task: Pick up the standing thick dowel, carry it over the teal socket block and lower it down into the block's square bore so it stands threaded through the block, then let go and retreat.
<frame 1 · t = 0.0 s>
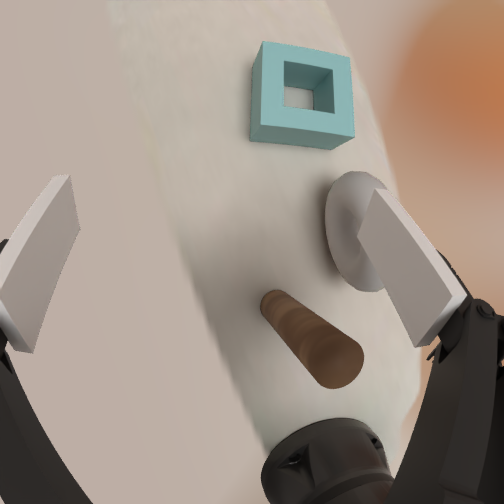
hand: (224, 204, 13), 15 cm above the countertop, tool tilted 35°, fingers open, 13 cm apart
grey rounded flat slab: (335, 231, 31), on the countertop
thick dowel: (276, 305, 30), on the countertop
teal socket block: (292, 106, 29), on the countertop
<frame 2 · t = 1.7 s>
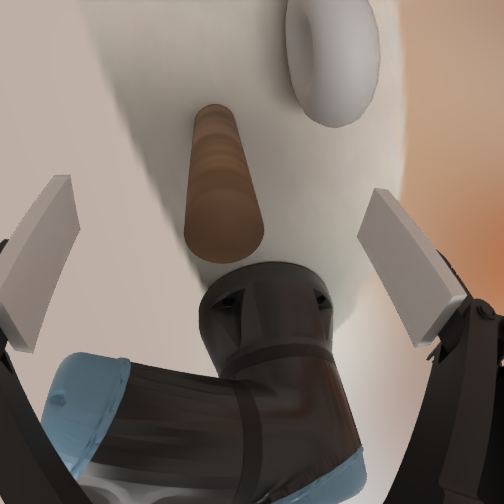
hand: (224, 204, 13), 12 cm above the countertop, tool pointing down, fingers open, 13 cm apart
grey rounded flat slab: (302, 42, 20), on the countertop
thick dowel: (214, 123, 23), on the countertop
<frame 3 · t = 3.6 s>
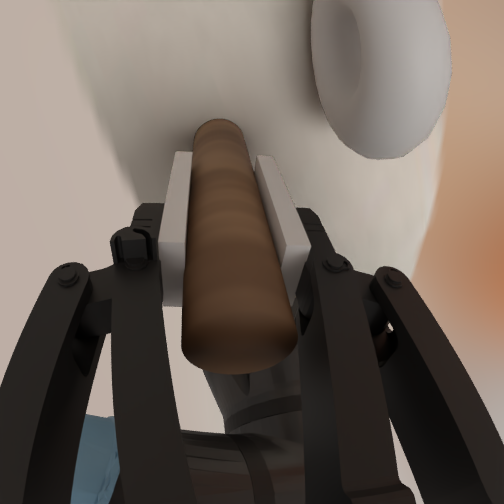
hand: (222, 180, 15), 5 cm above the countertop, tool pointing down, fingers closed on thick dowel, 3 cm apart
grey rounded flat slab: (329, 42, 15), on the countertop
thick dowel: (218, 142, 19), on the countertop, touching gripper
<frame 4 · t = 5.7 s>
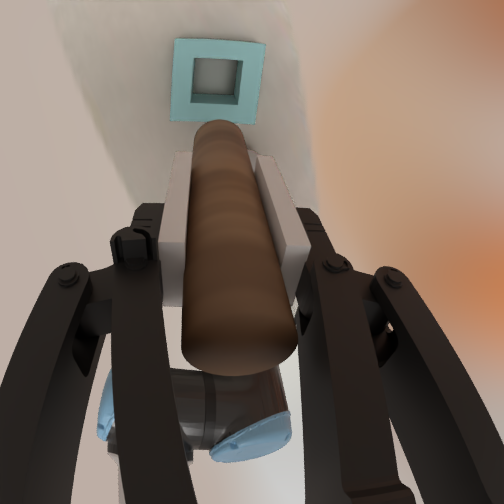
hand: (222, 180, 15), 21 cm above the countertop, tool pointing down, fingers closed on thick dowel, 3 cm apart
thick dowel: (218, 142, 19), point 16 cm above the countertop, touching gripper
teal socket block: (215, 74, 30), on the countertop
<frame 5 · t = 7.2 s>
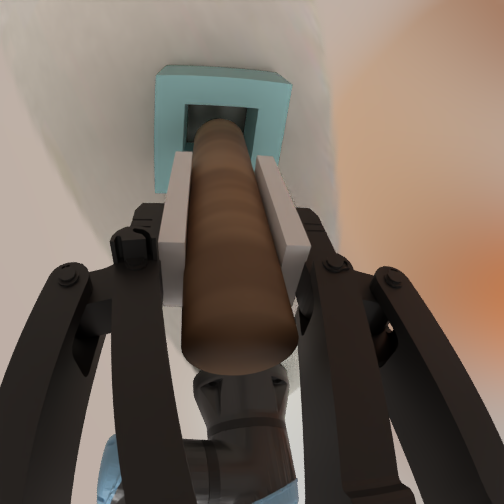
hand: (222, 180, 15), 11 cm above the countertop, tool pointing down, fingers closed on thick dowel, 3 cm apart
thick dowel: (219, 141, 19), point 6 cm above the countertop, touching gripper
teal socket block: (216, 117, 23), on the countertop
when the fingers open (7 cm above the countertop, at t = 8.1 s): thick dowel drops 2 cm, resting in teal socket block.
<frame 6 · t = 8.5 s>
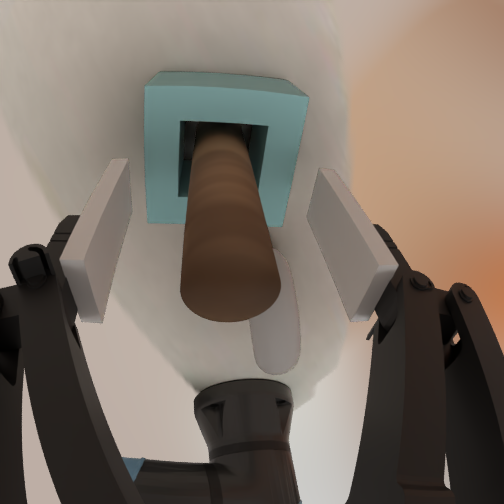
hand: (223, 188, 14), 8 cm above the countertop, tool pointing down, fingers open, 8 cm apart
grey rounded flat slab: (261, 265, 29), on the countertop
thick dowel: (218, 131, 20), resting in teal socket block
teal socket block: (218, 131, 20), on the countertop
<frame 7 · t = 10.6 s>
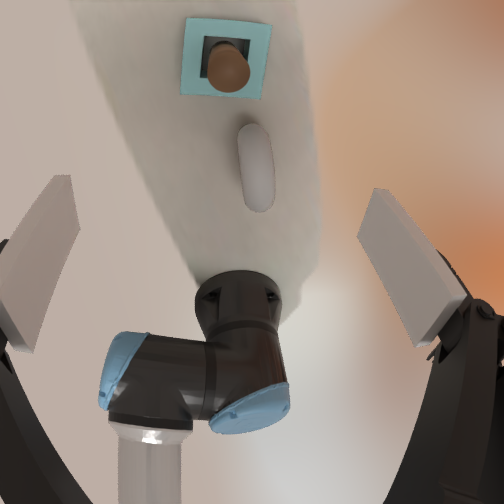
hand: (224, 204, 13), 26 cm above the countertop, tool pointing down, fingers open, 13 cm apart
grey rounded flat slab: (250, 149, 39), on the countertop
thick dowel: (223, 53, 30), resting in teal socket block
teal socket block: (223, 53, 30), on the countertop
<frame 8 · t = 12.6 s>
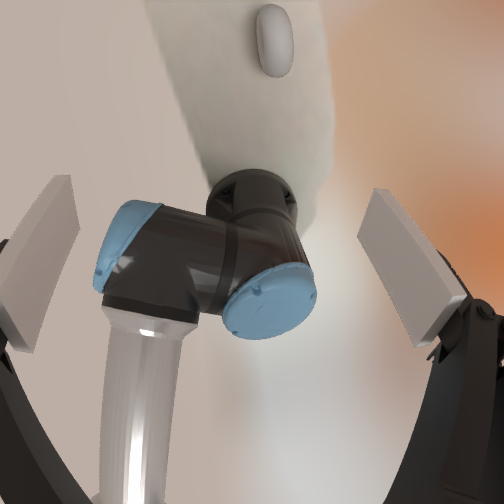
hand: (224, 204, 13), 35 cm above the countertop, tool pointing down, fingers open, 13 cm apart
grey rounded flat slab: (266, 39, 37), on the countertop
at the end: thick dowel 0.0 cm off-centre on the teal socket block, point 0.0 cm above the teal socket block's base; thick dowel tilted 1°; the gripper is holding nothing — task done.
